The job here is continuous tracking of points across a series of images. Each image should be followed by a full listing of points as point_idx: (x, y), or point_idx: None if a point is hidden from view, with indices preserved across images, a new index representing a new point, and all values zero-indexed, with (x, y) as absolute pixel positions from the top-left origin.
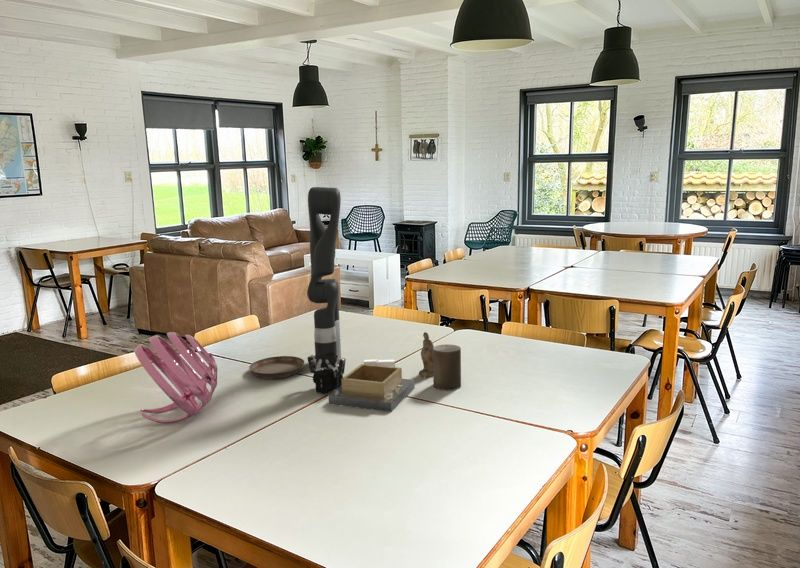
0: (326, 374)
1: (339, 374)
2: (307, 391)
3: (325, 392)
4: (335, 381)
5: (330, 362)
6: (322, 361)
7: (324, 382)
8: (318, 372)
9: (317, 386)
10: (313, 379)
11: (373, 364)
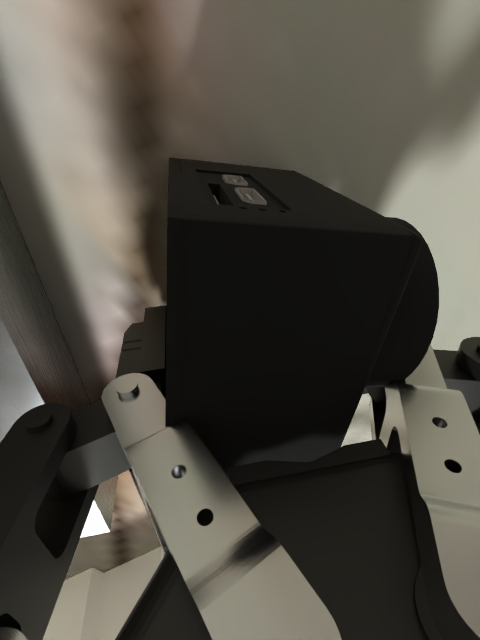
0: (167, 285)
1: (32, 422)
2: (388, 168)
3: (169, 161)
4: (142, 348)
5: (203, 624)
6: (429, 578)
7: (178, 184)
8: (372, 308)
9: (293, 180)
10: (392, 219)
11: (108, 638)
